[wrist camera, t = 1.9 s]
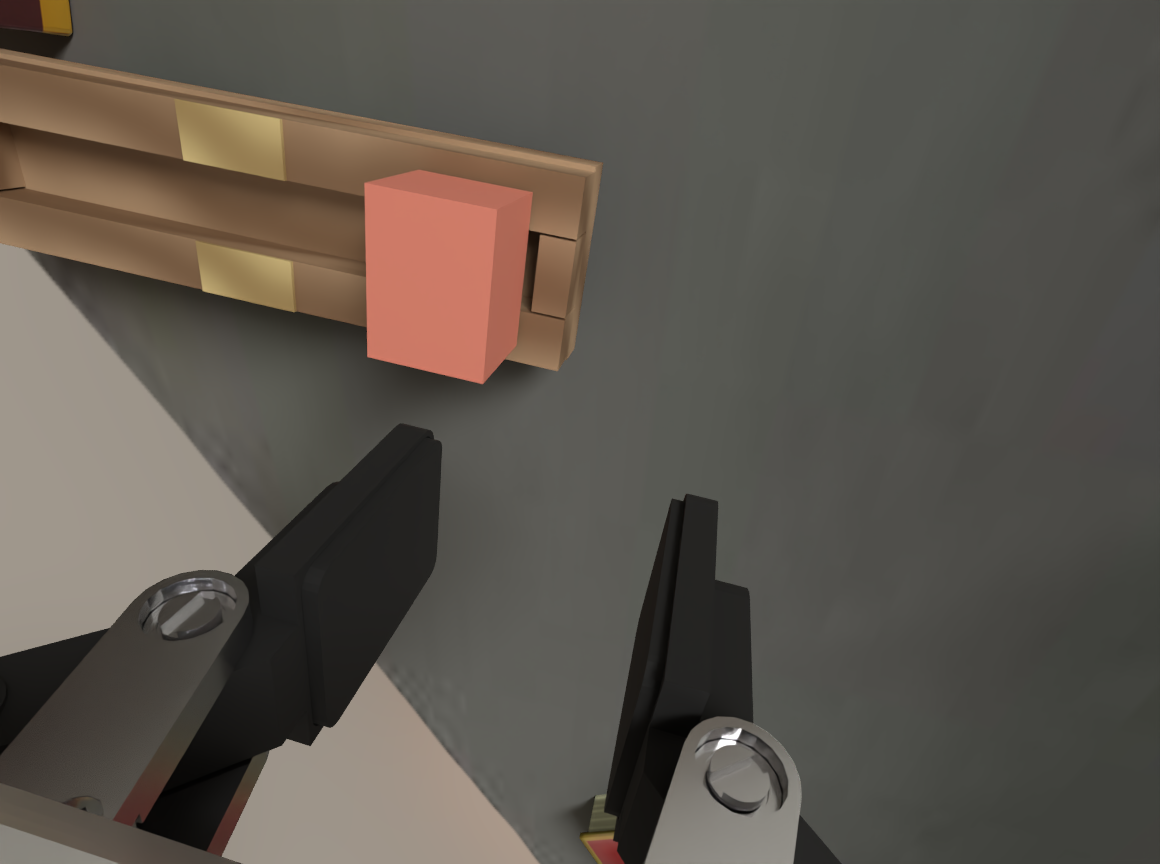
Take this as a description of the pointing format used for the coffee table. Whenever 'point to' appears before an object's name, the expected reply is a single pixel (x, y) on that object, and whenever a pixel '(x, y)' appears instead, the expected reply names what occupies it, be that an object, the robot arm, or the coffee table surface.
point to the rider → (444, 272)
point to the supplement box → (36, 16)
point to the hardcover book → (601, 835)
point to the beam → (257, 192)
